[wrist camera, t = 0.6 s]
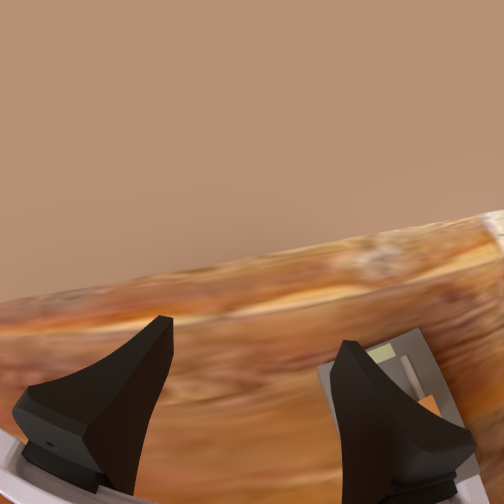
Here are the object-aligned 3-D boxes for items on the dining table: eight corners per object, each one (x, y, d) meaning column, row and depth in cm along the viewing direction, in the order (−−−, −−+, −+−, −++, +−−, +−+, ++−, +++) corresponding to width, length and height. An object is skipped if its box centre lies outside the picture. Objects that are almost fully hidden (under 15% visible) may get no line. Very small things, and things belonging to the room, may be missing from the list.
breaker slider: (428, 430, 20) (444, 423, 17) (391, 449, 20) (403, 444, 17) (417, 405, 22) (432, 394, 19) (381, 422, 22) (392, 414, 19)
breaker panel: (472, 475, 16) (484, 474, 14) (367, 530, 16) (372, 535, 14) (413, 335, 29) (419, 324, 28) (317, 372, 29) (317, 364, 27)
